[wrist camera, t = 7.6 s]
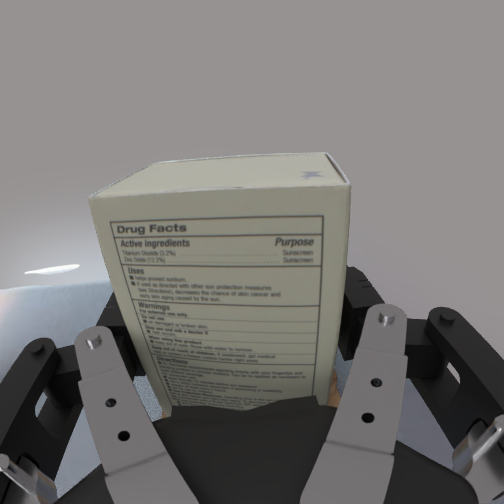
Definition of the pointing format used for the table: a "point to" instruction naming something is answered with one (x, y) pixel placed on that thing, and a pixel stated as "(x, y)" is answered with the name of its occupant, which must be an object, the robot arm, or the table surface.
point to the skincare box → (230, 274)
